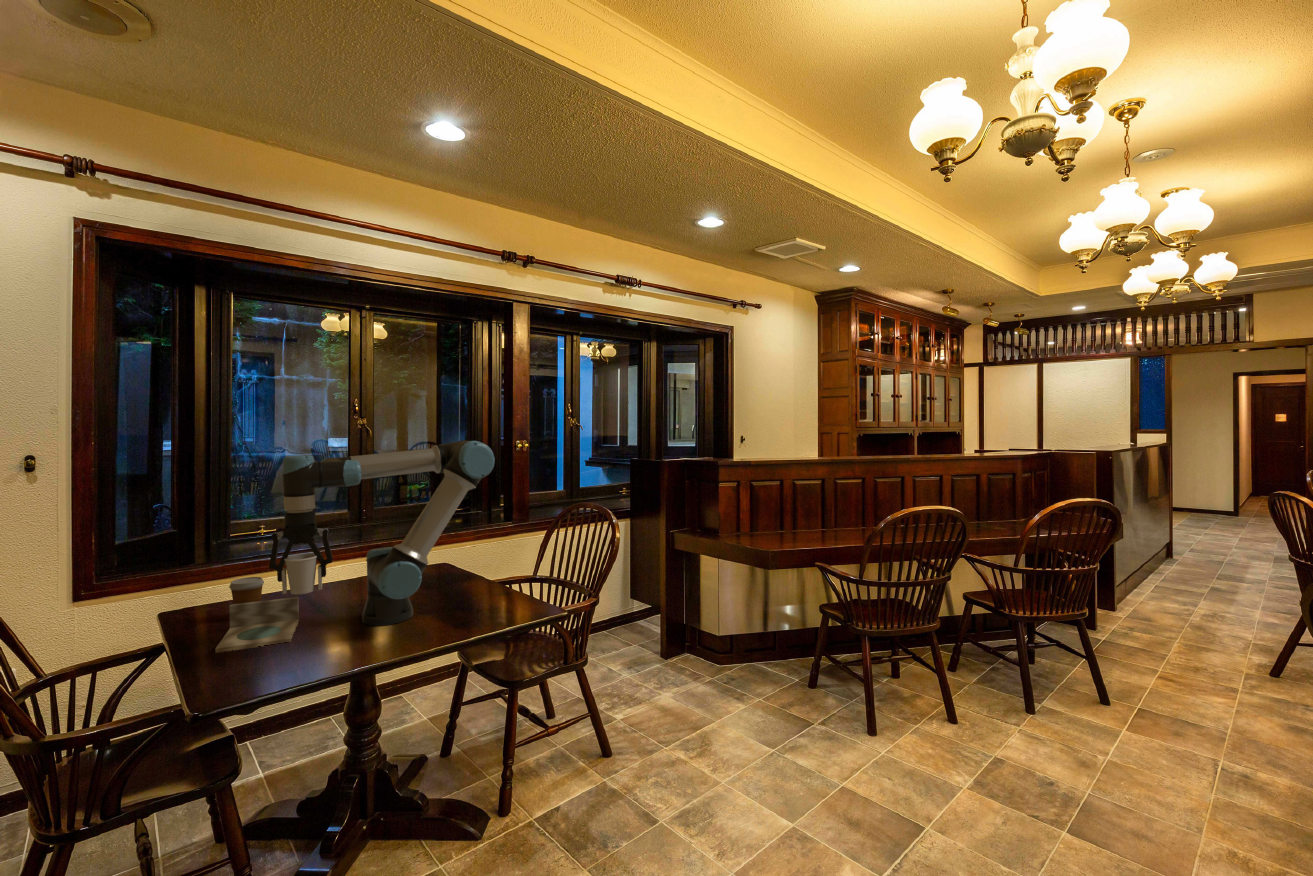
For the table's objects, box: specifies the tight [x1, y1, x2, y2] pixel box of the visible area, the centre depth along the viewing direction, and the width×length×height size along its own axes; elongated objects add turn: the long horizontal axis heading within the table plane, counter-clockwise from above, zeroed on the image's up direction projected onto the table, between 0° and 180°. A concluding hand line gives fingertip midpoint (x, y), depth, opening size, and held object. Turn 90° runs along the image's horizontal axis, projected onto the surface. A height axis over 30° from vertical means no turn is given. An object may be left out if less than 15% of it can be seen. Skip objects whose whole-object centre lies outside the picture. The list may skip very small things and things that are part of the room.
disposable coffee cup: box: [229, 576, 265, 604], centre depth 198 cm, size 10×10×12 cm
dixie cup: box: [284, 552, 318, 595], centre depth 170 cm, size 8×8×10 cm
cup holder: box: [214, 596, 300, 654], centre depth 180 cm, size 18×20×8 cm
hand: (302, 590), depth 170 cm, fingers closed on dixie cup, 8 cm apart
